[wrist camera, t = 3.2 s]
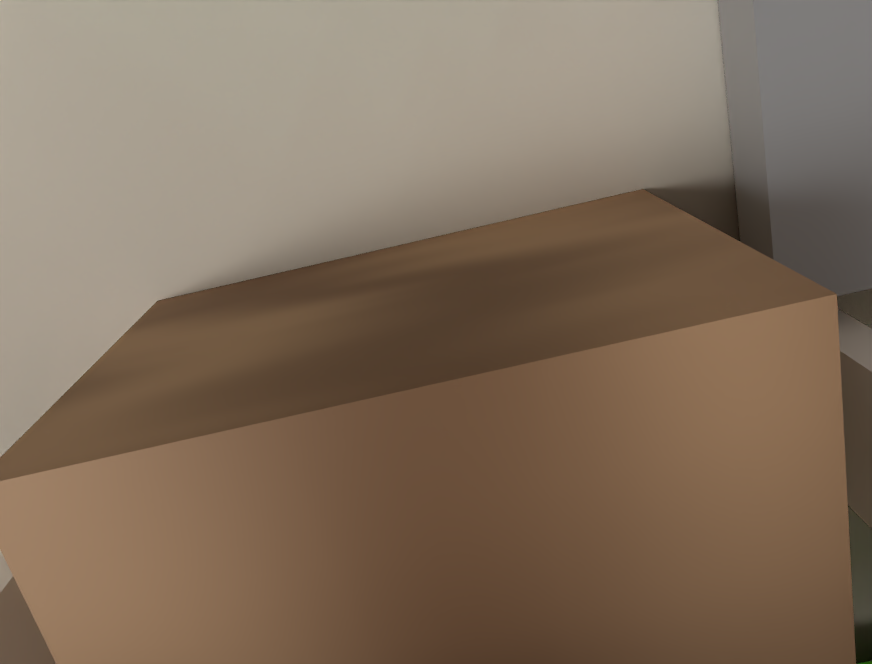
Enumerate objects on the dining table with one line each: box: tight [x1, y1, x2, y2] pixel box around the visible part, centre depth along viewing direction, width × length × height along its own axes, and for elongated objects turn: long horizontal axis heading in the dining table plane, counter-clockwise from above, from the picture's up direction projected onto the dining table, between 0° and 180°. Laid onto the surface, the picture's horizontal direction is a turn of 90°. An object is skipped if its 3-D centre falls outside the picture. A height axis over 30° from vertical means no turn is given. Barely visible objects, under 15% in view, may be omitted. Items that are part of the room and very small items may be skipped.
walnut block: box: [0, 189, 856, 664], centre depth 11 cm, size 8×8×6 cm
